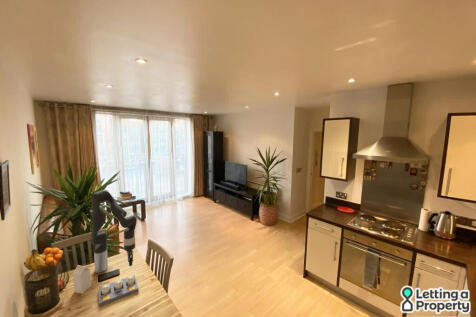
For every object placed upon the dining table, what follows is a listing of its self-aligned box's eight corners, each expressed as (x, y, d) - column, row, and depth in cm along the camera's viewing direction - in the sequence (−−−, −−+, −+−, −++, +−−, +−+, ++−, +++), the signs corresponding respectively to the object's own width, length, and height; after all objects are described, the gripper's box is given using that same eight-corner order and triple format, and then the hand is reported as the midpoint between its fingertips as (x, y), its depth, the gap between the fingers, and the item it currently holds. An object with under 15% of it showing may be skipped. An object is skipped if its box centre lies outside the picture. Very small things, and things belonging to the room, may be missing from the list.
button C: (126, 282, 151) (126, 277, 151) (133, 279, 154) (133, 274, 154) (127, 286, 147) (127, 280, 147) (134, 283, 150) (134, 278, 150)
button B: (114, 286, 147) (114, 281, 146) (122, 283, 149) (121, 278, 149) (115, 290, 143) (114, 285, 142) (122, 287, 146) (122, 282, 145)
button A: (101, 291, 142) (101, 285, 142) (109, 288, 145) (109, 283, 144) (101, 295, 138) (101, 290, 138) (109, 292, 141) (109, 287, 140)
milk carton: (81, 293, 143) (80, 269, 141) (74, 292, 145) (72, 268, 142) (91, 286, 150) (89, 263, 148) (83, 285, 151) (82, 262, 149)
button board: (99, 290, 146) (98, 286, 146) (134, 278, 160) (134, 274, 160) (99, 307, 133) (99, 302, 132) (138, 291, 147) (138, 287, 146)
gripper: (122, 239, 151) (123, 260, 153) (124, 248, 139) (125, 270, 141) (133, 237, 155) (134, 257, 157) (136, 245, 144) (137, 266, 145)
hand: (130, 263), depth 149 cm, fingers open, 5 cm apart
